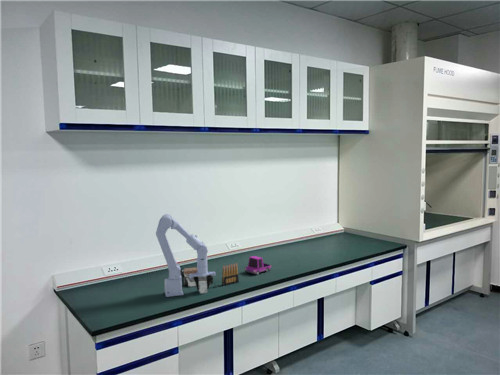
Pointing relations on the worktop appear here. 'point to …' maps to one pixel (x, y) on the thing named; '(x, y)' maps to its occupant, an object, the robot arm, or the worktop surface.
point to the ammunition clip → (230, 275)
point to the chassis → (190, 281)
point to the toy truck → (257, 265)
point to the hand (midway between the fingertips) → (202, 289)
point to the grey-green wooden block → (202, 287)
